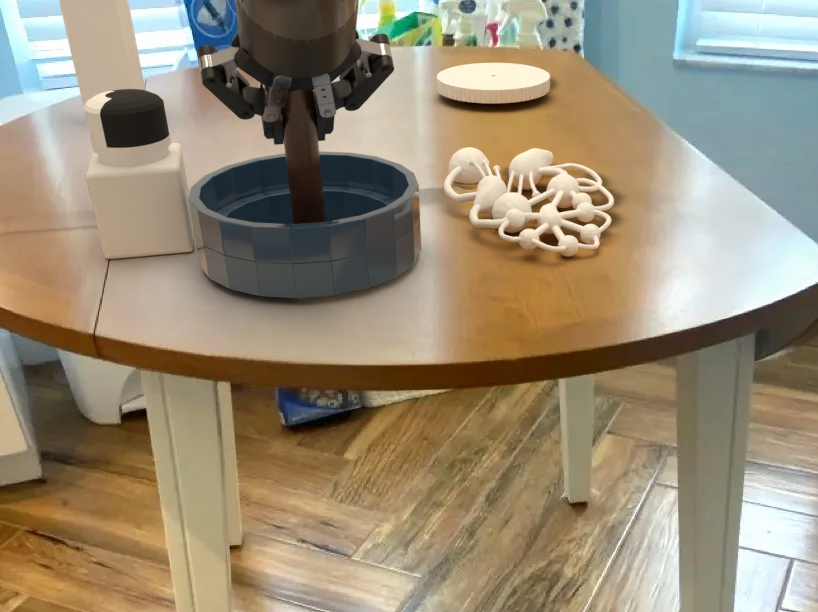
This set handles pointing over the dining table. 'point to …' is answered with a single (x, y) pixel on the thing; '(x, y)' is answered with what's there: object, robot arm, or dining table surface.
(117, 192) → the medicine bottle
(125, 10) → the milk
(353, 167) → the bowl
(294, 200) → the stick
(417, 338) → the dining table surface
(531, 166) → the tangled rod sculpture
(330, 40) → the robot arm
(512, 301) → the dining table surface
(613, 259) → the dining table surface
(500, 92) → the plastic lid
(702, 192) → the dining table surface
